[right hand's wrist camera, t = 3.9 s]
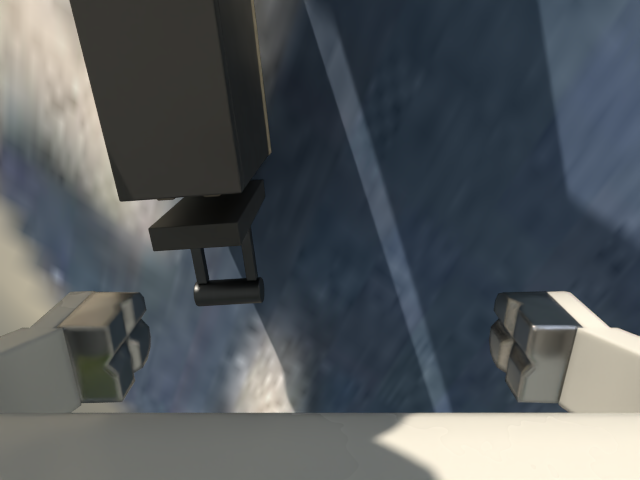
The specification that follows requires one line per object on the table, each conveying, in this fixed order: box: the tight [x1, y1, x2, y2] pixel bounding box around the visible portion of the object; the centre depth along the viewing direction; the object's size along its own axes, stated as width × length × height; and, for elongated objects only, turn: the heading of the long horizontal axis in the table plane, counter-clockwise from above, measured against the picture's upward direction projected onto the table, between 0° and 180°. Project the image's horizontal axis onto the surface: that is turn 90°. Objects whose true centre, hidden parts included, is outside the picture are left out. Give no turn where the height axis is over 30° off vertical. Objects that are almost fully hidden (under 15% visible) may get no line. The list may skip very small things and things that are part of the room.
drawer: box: [149, 180, 265, 306], centre depth 23 cm, size 24×4×9 cm, turn 4°
